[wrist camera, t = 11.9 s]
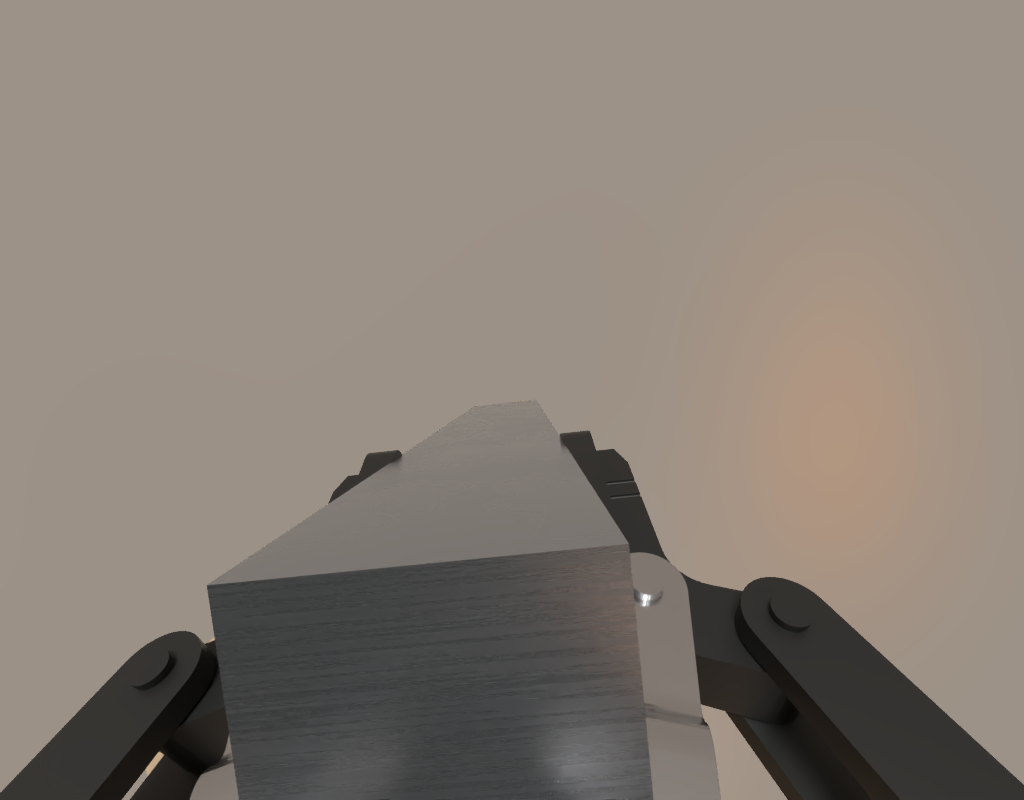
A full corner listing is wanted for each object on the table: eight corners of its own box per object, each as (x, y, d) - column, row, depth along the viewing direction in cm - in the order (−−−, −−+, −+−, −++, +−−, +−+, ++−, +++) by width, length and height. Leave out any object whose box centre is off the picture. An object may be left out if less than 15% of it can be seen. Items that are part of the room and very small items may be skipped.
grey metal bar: (265, 974, 4) (207, 584, 4) (481, 467, 28) (474, 406, 28) (667, 944, 4) (628, 544, 4) (542, 460, 28) (536, 399, 28)
